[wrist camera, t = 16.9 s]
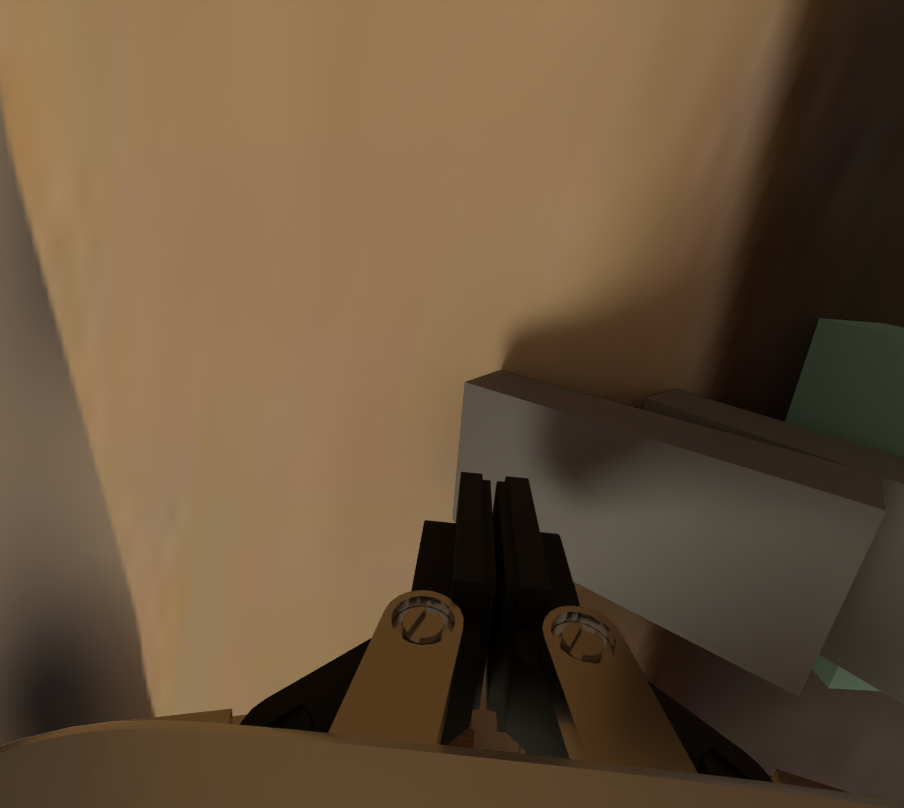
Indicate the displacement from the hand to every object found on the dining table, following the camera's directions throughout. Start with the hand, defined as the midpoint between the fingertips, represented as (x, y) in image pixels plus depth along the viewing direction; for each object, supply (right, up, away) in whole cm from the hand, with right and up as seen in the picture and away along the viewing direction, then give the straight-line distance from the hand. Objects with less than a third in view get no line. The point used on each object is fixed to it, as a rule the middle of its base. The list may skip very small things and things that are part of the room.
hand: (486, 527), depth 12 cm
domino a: (0, +2, +4) cm, 5 cm away
